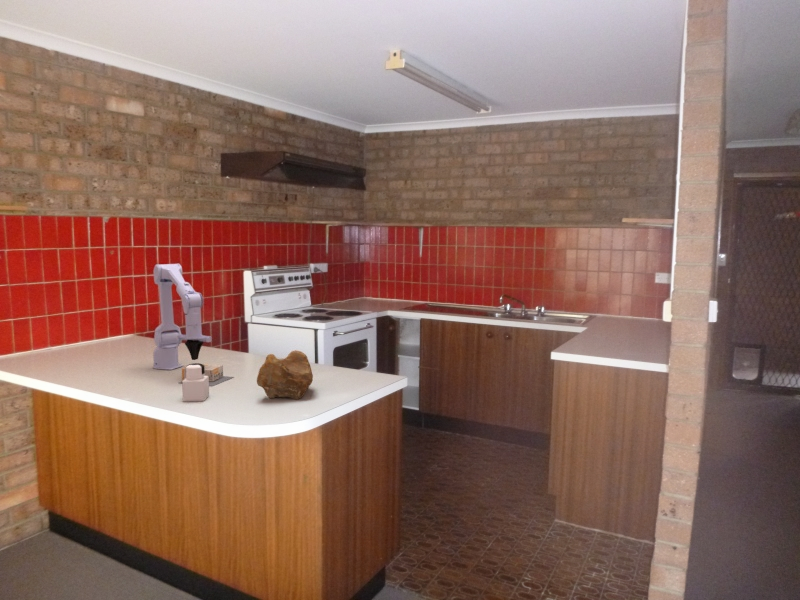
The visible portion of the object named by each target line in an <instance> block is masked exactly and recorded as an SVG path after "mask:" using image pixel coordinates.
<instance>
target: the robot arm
mask: <svg viewBox="0 0 800 600" xmlns="http://www.w3.org/2000/svg"><path fill="white" fill-rule="evenodd" d="M153 281H154V284H155V285H158V294H159V308H160V321H161V323H160V324H159V325H158V326H157V327H155V329H154V335H153V336H154V337H153V341H154V344H155V346H156V347H155V348H154V350H153V355H152V356H153V366H152V369H157V370H167V371H171V370H174V369H175V370H176V369H179V368H181V367H184V364H179V347H180V345H181V344H182V342H183V341H186V342H184V345H185V346H186V348H187V350H188V352H189V355H190V357H191V360H193V361H195V360H199V355H200V351H201V348H202V346H203V345H204V342H205V343H211V342H213V340H212V336H211V335H204V334H203V333H202V331H203V330H202V307H203V306H204V297H203V295H202V293H201V292H197V291H196V290H195V289H194V288H193V286H192V285H191V283H190V282H188V281H186V280H185V279H184V276H183V267H182V265H181V264H180V263H167V264H165V263H164V264H158V263H157V264H155V265H154V267H153ZM173 285H175V287H176V289H175V290H176V292H177V294H178V295H179V297H180V299H181V304H182V310H183V313H184V319H185V334H182V332H181V328H180V326H178V325H177V324H175V320H174V319H175V318H174V307H173V293H172V292H173V291H172V286H173Z"/></svg>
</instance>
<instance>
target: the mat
mask: <svg viewBox="0 0 800 600" xmlns="http://www.w3.org/2000/svg"><path fill="white" fill-rule="evenodd" d="M233 378H235V377H234V376H227V375H223V377H221V378H219V379H217V380H215V381H209V387H214V386H217V385H219V384H222V383H224V382H226V381H229V380H231V379H233ZM182 381H183V380H182ZM182 381H178V384H182Z"/></svg>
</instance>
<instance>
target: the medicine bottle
mask: <svg viewBox="0 0 800 600" xmlns="http://www.w3.org/2000/svg"><path fill="white" fill-rule="evenodd" d="M204 365H205V364H204ZM204 365H203V363H197V362H196V363H195V362H194V363H189V364H187V365H186V366H185V367H186V377H187V378H186V379H184V380H182V383H181V384H182V401H183V402H204V401H206V399H207V398H208V397H209V395H210V386H209V377H208V376H205V370H204Z"/></svg>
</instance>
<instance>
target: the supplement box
mask: <svg viewBox="0 0 800 600" xmlns="http://www.w3.org/2000/svg"><path fill="white" fill-rule="evenodd" d="M202 364H203V363H202ZM203 365H204V370H205V376H208V377H209V381H215V380H217V379H219V378H221V377H223V376H224V366H223V364H222V365H219V364H203ZM181 378H182V379H181V380H182V381H183V380H184V379H186V378H187V377H186V366H183V367H182V368H181Z"/></svg>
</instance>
